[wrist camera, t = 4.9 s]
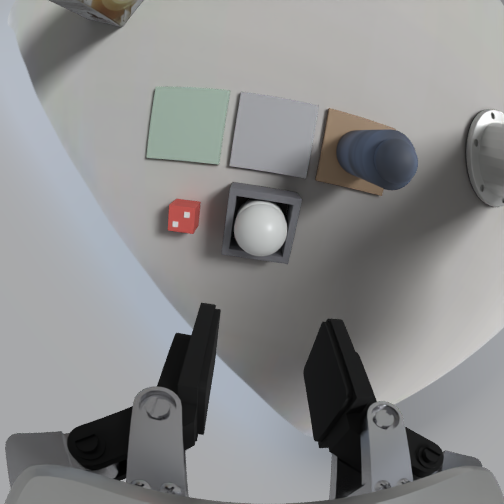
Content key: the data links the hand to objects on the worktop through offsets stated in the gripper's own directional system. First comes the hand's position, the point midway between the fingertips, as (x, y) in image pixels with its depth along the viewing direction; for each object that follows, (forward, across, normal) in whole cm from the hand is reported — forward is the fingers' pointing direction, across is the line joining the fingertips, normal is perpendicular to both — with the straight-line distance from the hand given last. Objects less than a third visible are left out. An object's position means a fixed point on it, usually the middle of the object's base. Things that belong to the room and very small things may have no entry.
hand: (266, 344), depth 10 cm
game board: (+17, 0, -4) cm, 18 cm away
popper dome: (+17, 0, 0) cm, 17 cm away
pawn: (+17, -8, -8) cm, 20 cm away
